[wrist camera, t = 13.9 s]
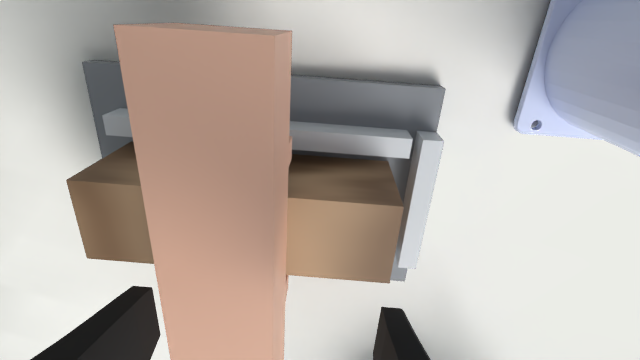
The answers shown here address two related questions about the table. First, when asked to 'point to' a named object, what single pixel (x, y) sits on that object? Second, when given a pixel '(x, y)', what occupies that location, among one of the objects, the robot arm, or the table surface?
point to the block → (213, 180)
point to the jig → (330, 134)
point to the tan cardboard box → (302, 215)
